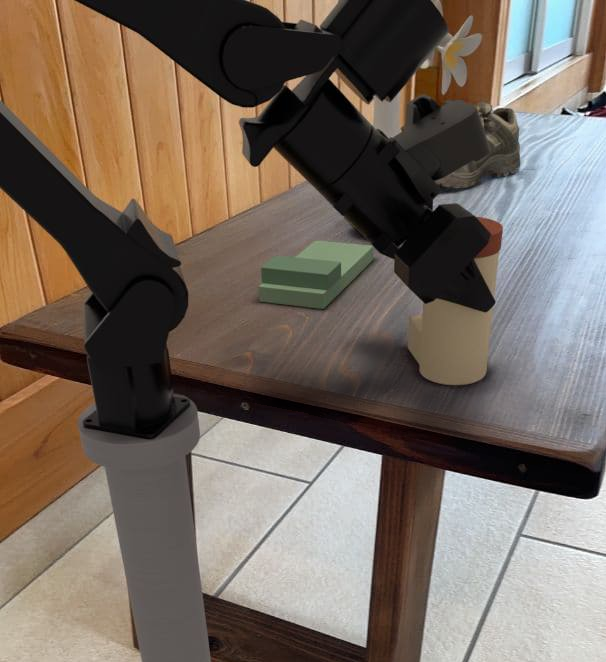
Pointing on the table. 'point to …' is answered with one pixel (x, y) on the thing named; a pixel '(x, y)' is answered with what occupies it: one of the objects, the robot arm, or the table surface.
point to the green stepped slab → (313, 274)
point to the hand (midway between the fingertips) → (475, 293)
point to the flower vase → (450, 50)
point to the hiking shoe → (491, 149)
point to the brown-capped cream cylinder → (457, 327)
